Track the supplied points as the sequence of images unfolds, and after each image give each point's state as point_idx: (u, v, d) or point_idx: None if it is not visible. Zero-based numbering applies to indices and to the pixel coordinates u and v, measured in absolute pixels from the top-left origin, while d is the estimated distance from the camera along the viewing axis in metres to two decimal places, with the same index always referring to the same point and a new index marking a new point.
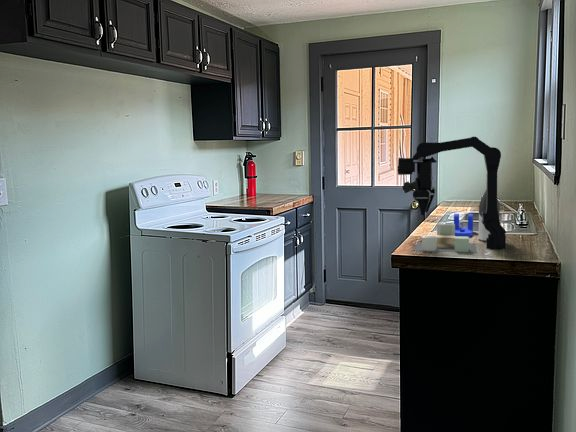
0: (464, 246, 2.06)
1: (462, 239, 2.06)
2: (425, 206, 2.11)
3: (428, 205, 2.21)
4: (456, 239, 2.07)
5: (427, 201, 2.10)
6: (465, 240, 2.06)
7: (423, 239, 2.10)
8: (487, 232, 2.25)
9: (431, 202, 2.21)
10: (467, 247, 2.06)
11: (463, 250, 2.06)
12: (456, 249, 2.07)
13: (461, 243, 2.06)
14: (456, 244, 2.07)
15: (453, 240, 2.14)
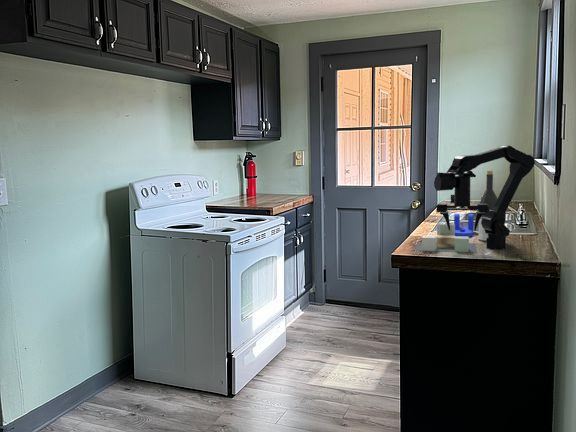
0: (464, 246, 2.06)
1: (462, 239, 2.06)
2: (446, 221, 2.08)
3: (475, 223, 2.05)
4: (456, 239, 2.07)
5: None
6: (465, 240, 2.06)
7: (423, 239, 2.10)
8: None
9: (477, 221, 2.04)
10: (467, 247, 2.06)
11: (463, 250, 2.06)
12: (456, 249, 2.07)
13: (461, 243, 2.06)
14: (456, 244, 2.07)
15: (453, 240, 2.14)
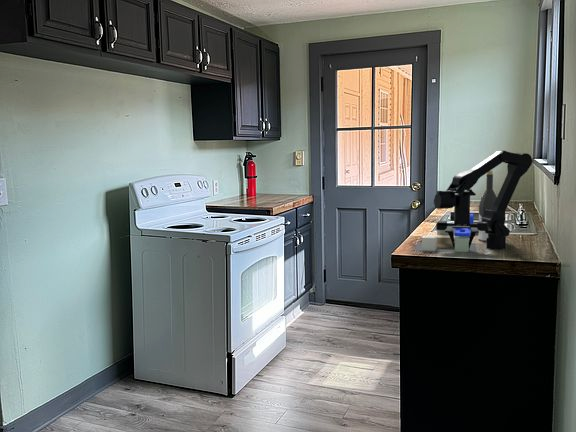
0: (464, 246, 2.06)
1: (462, 239, 2.06)
2: (451, 239, 2.08)
3: (469, 241, 2.07)
4: (456, 239, 2.07)
5: None
6: (465, 240, 2.06)
7: (423, 239, 2.10)
8: None
9: (471, 239, 2.06)
10: (467, 247, 2.06)
11: (463, 250, 2.06)
12: (456, 249, 2.07)
13: (461, 243, 2.06)
14: (456, 244, 2.07)
15: None
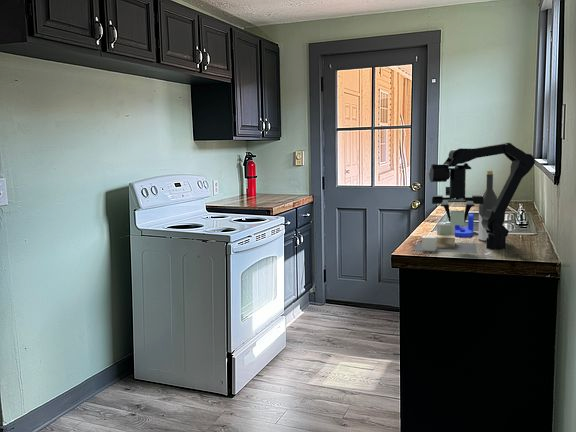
0: (460, 219, 2.07)
1: (458, 212, 2.07)
2: None
3: (464, 215, 2.08)
4: (452, 213, 2.08)
5: None
6: (461, 213, 2.07)
7: (423, 239, 2.10)
8: None
9: (466, 212, 2.07)
10: (463, 220, 2.07)
11: (459, 223, 2.08)
12: (452, 223, 2.08)
13: (457, 216, 2.08)
14: (452, 218, 2.08)
15: (453, 240, 2.14)
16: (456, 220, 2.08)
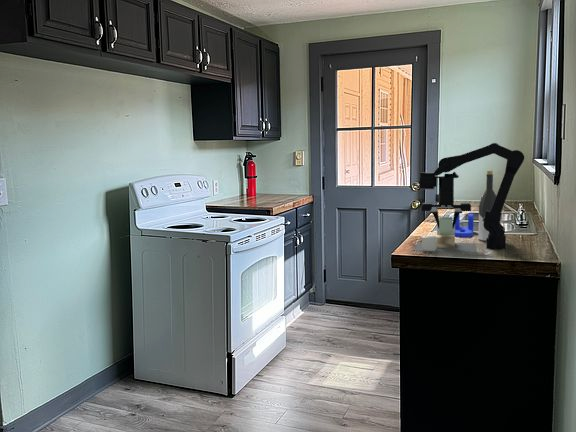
0: (448, 226, 2.15)
1: (446, 219, 2.15)
2: None
3: None
4: (440, 219, 2.15)
5: None
6: (449, 220, 2.15)
7: (423, 239, 2.10)
8: (487, 232, 2.25)
9: (454, 219, 2.14)
10: (451, 227, 2.15)
11: (447, 230, 2.15)
12: (440, 229, 2.16)
13: (445, 223, 2.15)
14: (440, 224, 2.16)
15: (453, 240, 2.14)
16: (444, 227, 2.15)
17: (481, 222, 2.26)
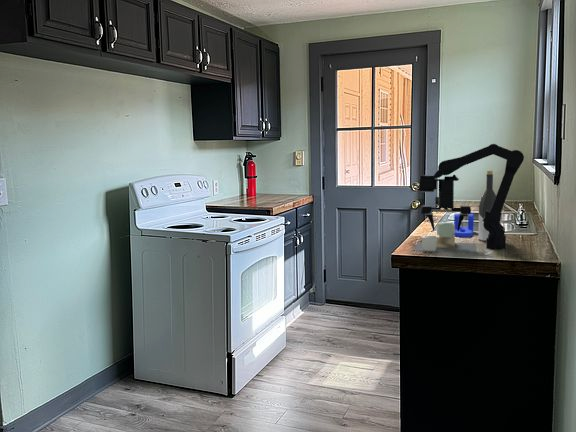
0: (448, 231, 2.15)
1: (446, 225, 2.15)
2: (430, 222, 2.18)
3: (458, 224, 2.15)
4: (440, 225, 2.16)
5: None
6: (449, 226, 2.15)
7: (423, 239, 2.10)
8: (487, 232, 2.25)
9: (459, 222, 2.14)
10: (451, 233, 2.15)
11: (447, 236, 2.16)
12: (440, 235, 2.16)
13: (445, 229, 2.15)
14: (440, 230, 2.16)
15: (453, 240, 2.14)
16: (444, 232, 2.16)
17: (481, 222, 2.26)
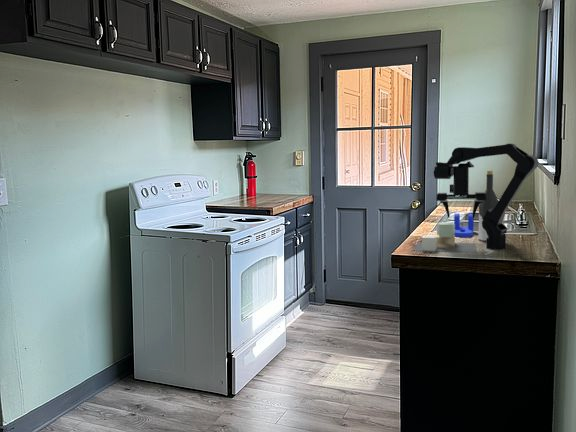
0: (448, 231, 2.15)
1: (446, 225, 2.15)
2: None
3: (473, 211, 2.16)
4: (440, 225, 2.16)
5: None
6: (449, 226, 2.15)
7: (423, 239, 2.10)
8: None
9: (475, 208, 2.15)
10: (451, 233, 2.15)
11: (447, 236, 2.16)
12: (440, 235, 2.16)
13: (445, 229, 2.15)
14: (440, 230, 2.16)
15: (453, 240, 2.14)
16: (444, 232, 2.16)
17: (481, 222, 2.26)
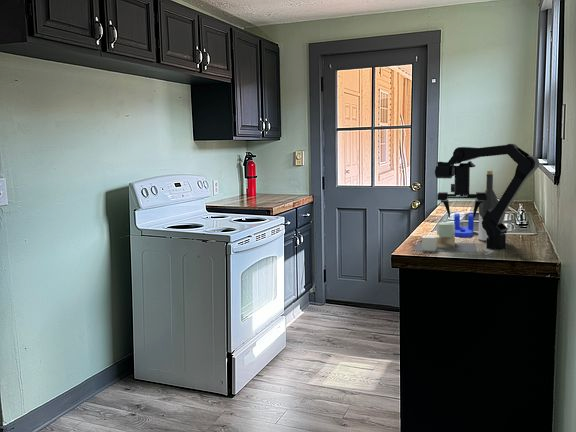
0: (448, 231, 2.15)
1: (446, 225, 2.15)
2: (446, 209, 2.19)
3: (473, 211, 2.16)
4: (440, 225, 2.16)
5: None
6: (449, 226, 2.15)
7: (423, 239, 2.10)
8: None
9: (475, 208, 2.15)
10: (451, 233, 2.15)
11: (447, 236, 2.16)
12: (440, 235, 2.16)
13: (445, 229, 2.15)
14: (440, 230, 2.16)
15: (453, 240, 2.14)
16: (444, 232, 2.16)
17: (481, 222, 2.26)
